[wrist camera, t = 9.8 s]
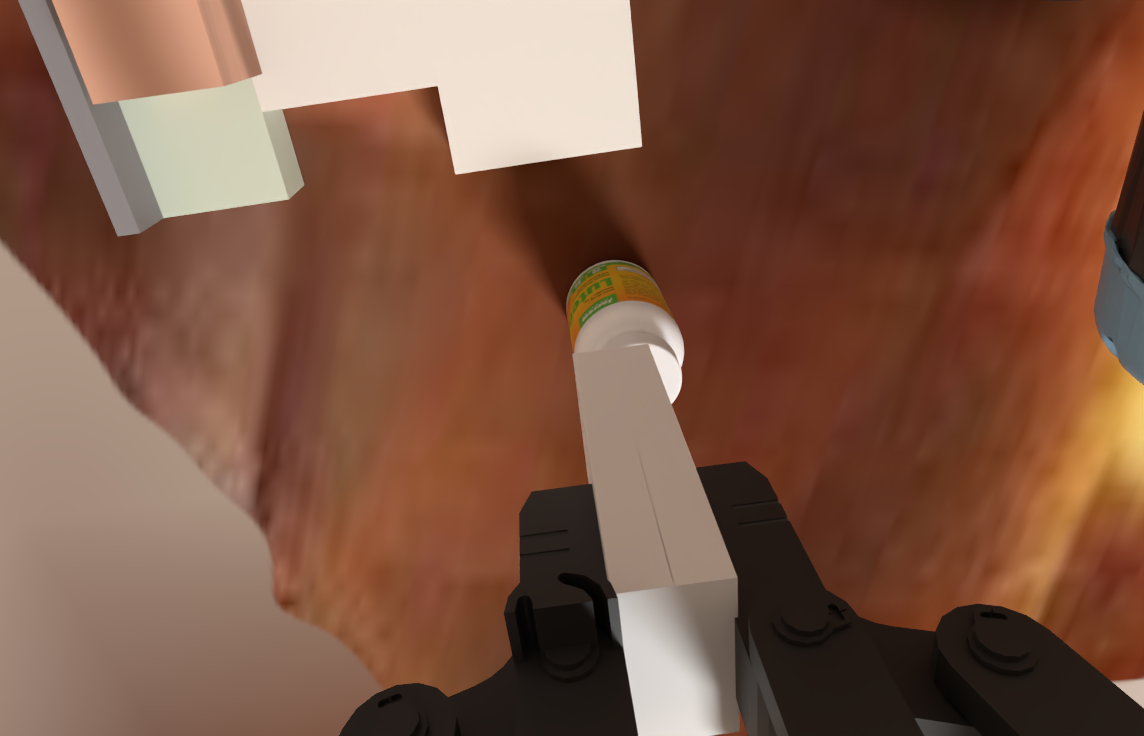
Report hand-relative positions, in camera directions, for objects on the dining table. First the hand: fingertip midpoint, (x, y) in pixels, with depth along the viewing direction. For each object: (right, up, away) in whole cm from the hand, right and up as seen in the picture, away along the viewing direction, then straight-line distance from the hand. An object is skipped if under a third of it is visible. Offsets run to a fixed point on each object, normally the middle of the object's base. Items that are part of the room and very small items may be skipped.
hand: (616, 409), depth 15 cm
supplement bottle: (+1, +5, +27) cm, 28 cm away
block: (-17, +16, +17) cm, 29 cm away
